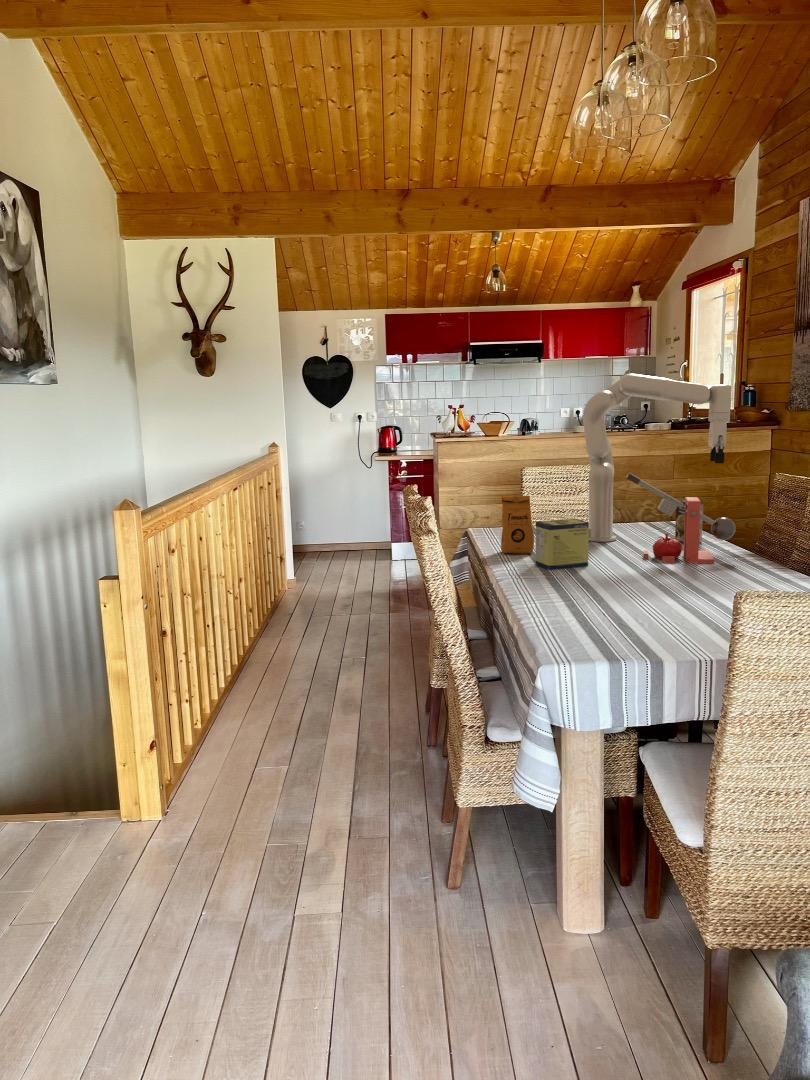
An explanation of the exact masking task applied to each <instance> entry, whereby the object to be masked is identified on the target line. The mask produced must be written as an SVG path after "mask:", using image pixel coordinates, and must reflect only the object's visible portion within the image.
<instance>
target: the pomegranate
mask: <svg viewBox="0 0 810 1080" xmlns="http://www.w3.org/2000/svg"><path fill="white" fill-rule="evenodd" d="M664 535H665V537H664V536H657V538H658V539H657V540H655V542H654V543H653V545H652V551H653V556H654V557H655V559H659V560H662V556H674V557H675V560H676V559H678V558H679V557H680V556H681V554H682V550H683V545H682V543H681V541H678V539H677V540H675V539H676V538H675V537H673V536H671V537H669V533H668V532H664Z"/></svg>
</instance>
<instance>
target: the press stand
mask: <svg viewBox="0 0 810 1080" xmlns="http://www.w3.org/2000/svg"><path fill="white" fill-rule="evenodd" d="M684 500H685V526H684V542H683V557H685V562H688V563H689V564H709V565H713V564H715V558H714V556H713V554H712V553H711V551H710V550H700V548H699V547H700V546H699V545H700V542H699V525H700V502H701V500H700V499H699V497H697V496H695V497H694V496H691V497H689V496H687V497H684ZM686 509H687V512H686ZM643 559H644V560H649V551H648V550H643ZM675 560H676V559H675V557H674V556H662V559H661V563H665V564H666V563H668V564H669V563H670V564H673V563H675Z"/></svg>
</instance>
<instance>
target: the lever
mask: <svg viewBox="0 0 810 1080" xmlns="http://www.w3.org/2000/svg"><path fill="white" fill-rule="evenodd" d="M626 480H629V481H631V482H632V483H634V484H636V485H639V486H641V487H642V488H645V489H646V490H648V491H649V492H651V493H653V494H655V495H657V496H659V498H660V497H661V498H662V500H661V501H660V503H659V504H658V505H657V510H658V511H659V512H662V513H663V514H665V515H667V516H669V517H670V518H671V517H672V516H673V515H674V513H675V512H676V508H677V507H680V508H682V506H683V503H682V502H680V501H678V499H676V498H675V497H673V496H671V495H669V494H668V493H665V492H664V491H662V490H660V489H659V488H656V487H655V486H653V485H651V484H650V483H647V482H645V481H644V480H642V479H641V478H640V477H638V476H637V475H635V474H633V473H631V472H628V474H627V475H626ZM686 512H687V509H686ZM700 519H702V520H703V522H705V523H707V524H709V525H711V526H710V530H711V531H710V532H711V534H712V536H714V537H715V538H716V539H718V540H721V541H727V540H729V539H731V538H732V537H733V536H734V535H735V534H736V524H735V522H734V521H733V520H732V519H731V518H729V517H725V516H723V517H722V516H721V517H718V518H716V519H712V518H711V517H709V516H707V515H705V514H704V513H703V514H702V513H700ZM714 537H713V538H714Z"/></svg>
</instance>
